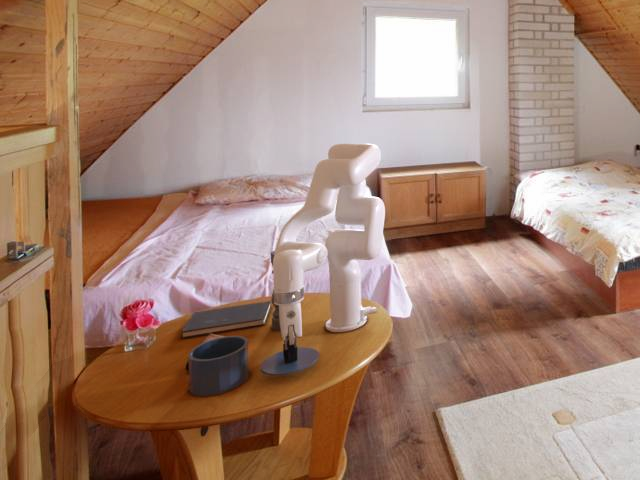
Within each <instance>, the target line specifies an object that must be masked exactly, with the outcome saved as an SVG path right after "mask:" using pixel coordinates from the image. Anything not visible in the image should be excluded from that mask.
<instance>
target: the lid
mask: <svg viewBox="0 0 640 480" xmlns="http://www.w3.org/2000/svg"><path fill="white" fill-rule="evenodd" d="M288 342H289V341H287V343H288ZM283 344H284V347H285V343H283ZM319 358H320V353H319V351H318V350H317V349H315V348H313V347H297V361H295V362H291V363H287V364H285V362H284V356H283V350H282V351H281V350H280V351H278V352H277V353H274V354H272V355H270V356H268V357H267V358H265V359H264V360H263V361H262V362H261V365H260V371H261V373H262V374H264V375H267V376H273V377H281V376H288V375H293V374H295V373H299V372H302V371H304V370H306V369H308V368H310V367H311V366H313V365H314V364H316V363H317V361H318V360H319Z"/></svg>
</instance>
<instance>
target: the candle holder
mask: <svg viewBox="0 0 640 480" xmlns="http://www.w3.org/2000/svg"><path fill="white" fill-rule="evenodd" d="M274 253H275V250H273V251H271V252H270V264H271V266H272V267H273V258H274ZM271 274H273V270H272V271H271ZM270 301H271V305H273V306H274V310H273V312H272V317H271V329H272V330H273V331H276V332H277V331H281V328H280V319H279V305H275V304H274V289H272V295H271V299H270Z"/></svg>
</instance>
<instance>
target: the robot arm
mask: <svg viewBox="0 0 640 480" xmlns="http://www.w3.org/2000/svg"><path fill="white" fill-rule="evenodd" d="M327 157H328V158H326V159H323V160H320V161H319V162H318V163H317V164H316V166H315V169H314V172H313V174H312V179H311V182H310V186H309V188H308V192H307V195H306V198H305V202H304V204H303V206H302V207H301V209H299V210H298V211H296V212H295V213H294V214H293V215H292V216H291V217H290V218H289V219H288V220H287V222H286V223H285V224H284V226H283V227H282V228H281V231H280V233H279V236H278V238H277V241H276V245H275V248H274V251H275V253H274V258H273V266H272V271H273V273H272V276H273V279H272V280H273V290H274V304H275V305H279V319H280V328H281V330H280V335H281V338H282V341H283V344H282V351H283V356H284V362H285V364H287V363H291V362H295V361H297V348H298V346H297V338H302V337H303V324H302V323H303V322H302V321H303V320H302V305H301V302H302V301H303V300H304V299H305V273H306V272H309V271H312V270H315V269H318V268H320V267H321V266H322V265H323V264H324V263H325V262H326V261H327V263H328V272H329V308H330V309H329V311H330V318H329V319H328V320H327V321H326V322H325V329H326V330H327V331H329V332H331V333H345V332H350V331H353V330H355V329H358V328H361V327H362V326H364V325H365V324H366V323H367V321H368V315H373V314H377V313H378V309H377V307H376V306H375V307H372V305H370V306H367V307H366V306H365V307H364V306H363V304H362V275H361V274H362V272H361V266H360V264H359V262H358V260H359V261H370V260H374V259H376V258H377V257H378V256H379V254H380V252H381V248H382V243H383V235H384V227H385V220H386V219H385V218H386V206H385V203H384V201H383V199H381V198H380V197H377V196H366V189H367V188H366V187H367V181H366V179H367V178H368V177H369V176H370V175H371V174H372V173H373V172H374V171H375V170H376V169H377V167H378V166H379V164H380V163H381V159H382V152H381V149H380V148H379V146H377V145H376V144H374V143H373V144H372V143H337V144H334V145H332V146H331V147H330V148H329V149H328V152H327ZM333 212H334V218H335V222H337V223H338V224H340V225H343V226H360V227H361V226H363V228H364V229H354V228H353V229H352V228H351V229H349V228H344V229H337V230H336V229H335V230H334V231H332V232H331V233H329V234H328V236H327V237H326V239H325V242H324V244H323V243H321V242H310V241H309V242H307V241H297V239H298V236H299V235H300V233H301V231H302V230H303V229H304V228H305V227H307V226H308V225H309V224H311V223H313V222H315V221H317V220H320V219H322V218H323V217H326V216H329V215H330V214H332V213H333ZM287 341H289V342H288V343H287ZM284 344H285V347H284Z"/></svg>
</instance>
